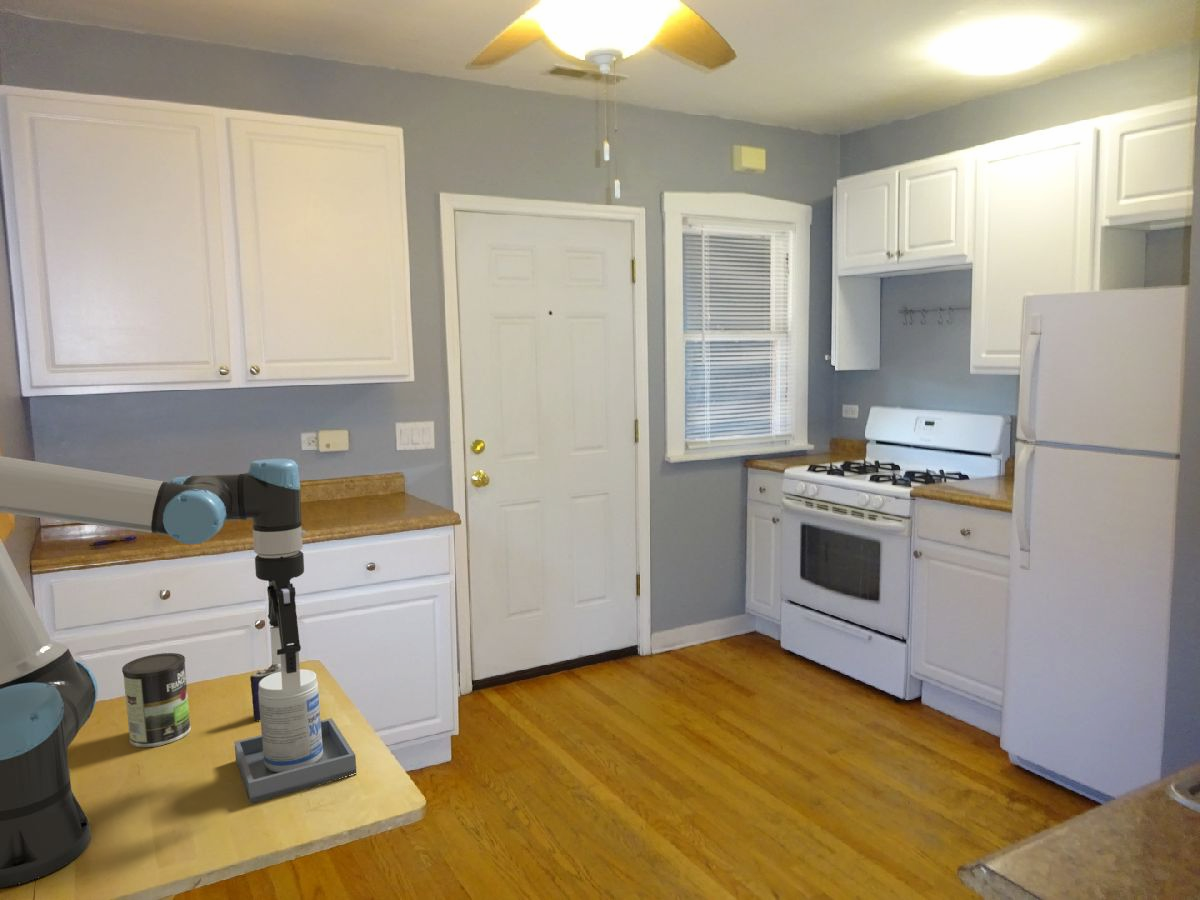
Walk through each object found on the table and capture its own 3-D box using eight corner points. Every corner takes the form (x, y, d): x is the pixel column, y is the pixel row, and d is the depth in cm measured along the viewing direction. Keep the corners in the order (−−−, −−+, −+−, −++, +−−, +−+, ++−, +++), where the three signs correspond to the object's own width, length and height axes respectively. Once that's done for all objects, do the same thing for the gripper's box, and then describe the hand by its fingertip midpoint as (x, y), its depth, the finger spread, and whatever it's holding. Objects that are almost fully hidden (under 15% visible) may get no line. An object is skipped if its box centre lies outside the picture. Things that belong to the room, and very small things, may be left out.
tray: (356, 774, 139) (355, 754, 139) (250, 804, 131) (248, 783, 131) (333, 736, 154) (331, 718, 153) (235, 760, 145) (234, 741, 145)
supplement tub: (326, 767, 140) (320, 683, 138) (265, 780, 136) (259, 694, 134) (319, 743, 149) (314, 664, 147) (262, 755, 145) (256, 674, 143)
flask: (296, 703, 168) (293, 652, 167) (303, 707, 166) (299, 656, 165) (251, 718, 162) (247, 666, 160) (257, 723, 160) (253, 669, 158)
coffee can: (201, 722, 161) (195, 651, 159) (173, 747, 151) (166, 672, 149) (148, 722, 161) (142, 652, 159) (117, 748, 151) (109, 673, 149)
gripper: (315, 566, 128) (321, 698, 131) (292, 535, 150) (298, 649, 153) (263, 573, 125) (270, 708, 127) (247, 540, 147) (254, 656, 149)
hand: (285, 676), depth 140 cm, fingers open, 13 cm apart
